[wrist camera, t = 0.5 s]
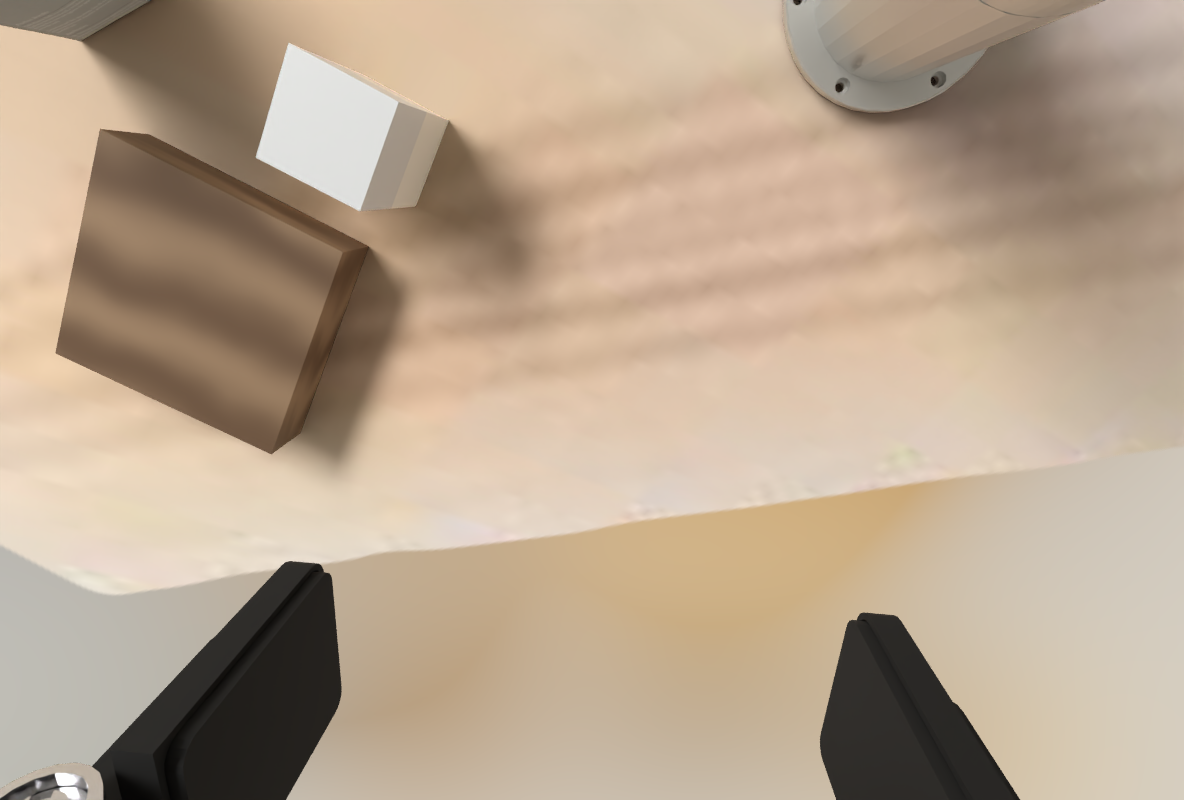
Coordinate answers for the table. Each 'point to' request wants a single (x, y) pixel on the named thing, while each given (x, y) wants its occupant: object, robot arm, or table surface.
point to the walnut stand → (204, 290)
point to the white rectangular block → (348, 134)
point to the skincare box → (65, 15)
